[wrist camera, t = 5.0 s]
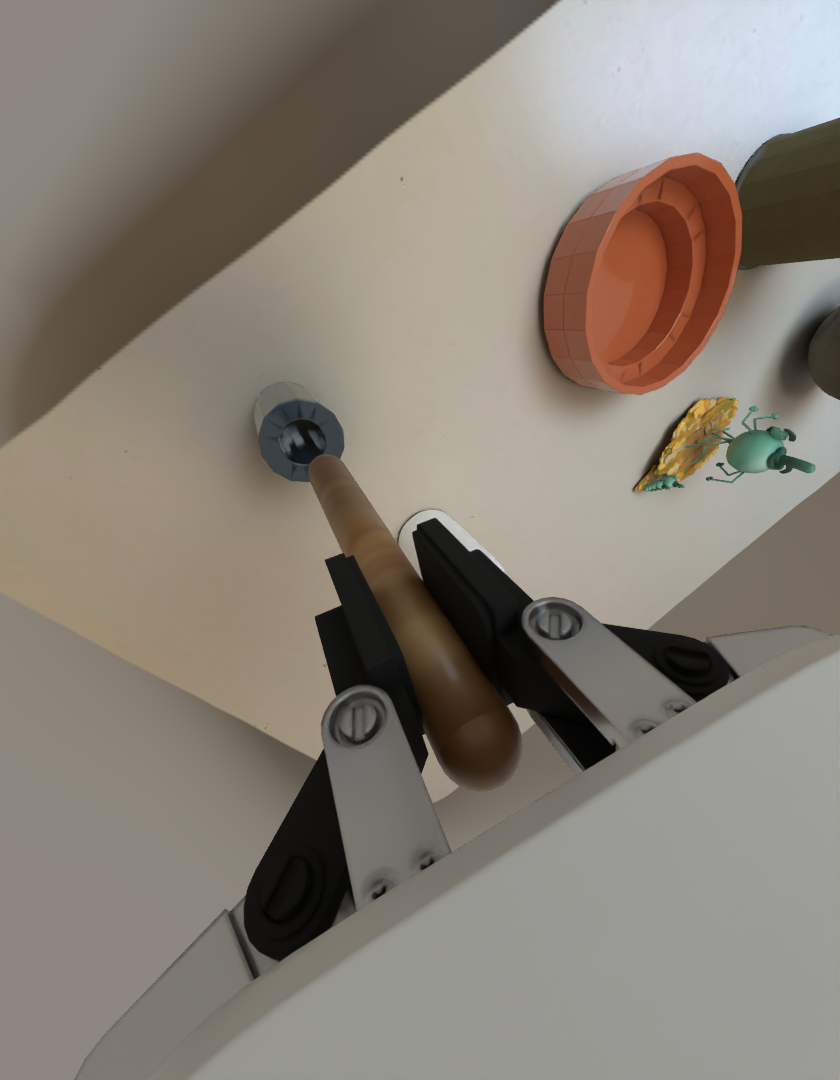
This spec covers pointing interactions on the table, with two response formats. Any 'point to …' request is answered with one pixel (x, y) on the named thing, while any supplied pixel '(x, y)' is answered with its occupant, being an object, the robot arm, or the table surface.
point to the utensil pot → (295, 429)
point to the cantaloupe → (827, 355)
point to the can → (471, 544)
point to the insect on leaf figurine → (702, 440)
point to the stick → (424, 642)
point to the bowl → (644, 275)
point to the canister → (792, 198)
